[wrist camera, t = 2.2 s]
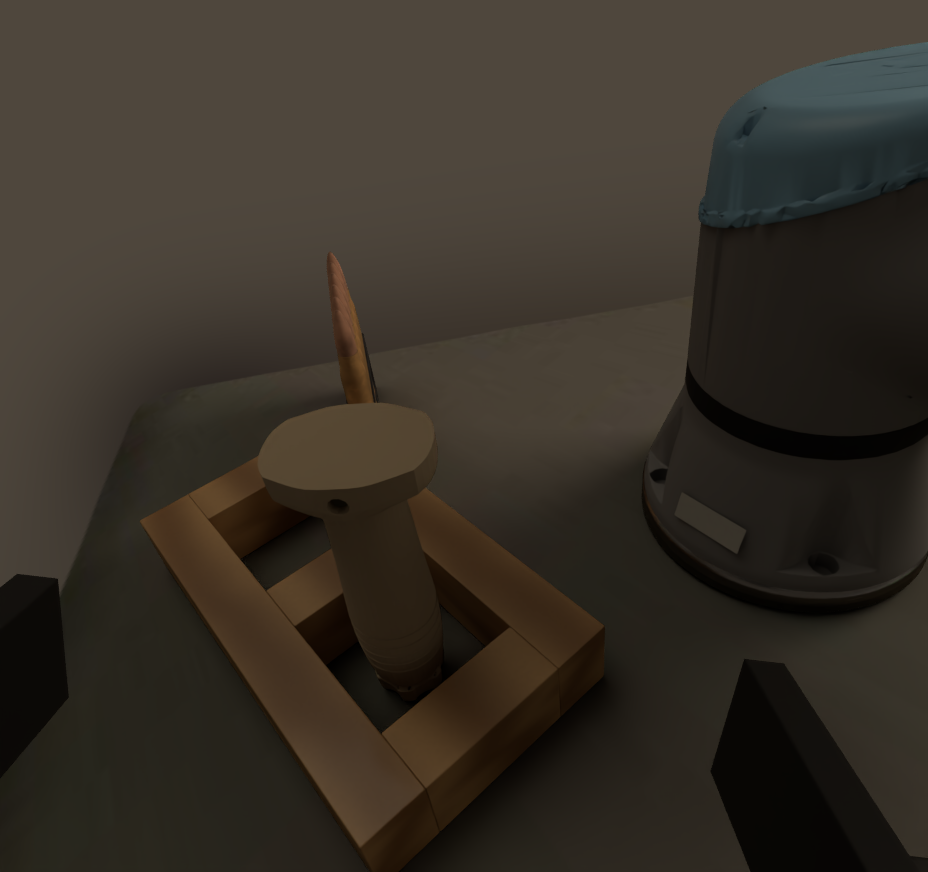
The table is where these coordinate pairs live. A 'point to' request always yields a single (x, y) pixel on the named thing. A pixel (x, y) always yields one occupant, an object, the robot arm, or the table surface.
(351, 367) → the ammunition clip
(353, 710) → the rack
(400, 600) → the handle
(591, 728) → the table surface
